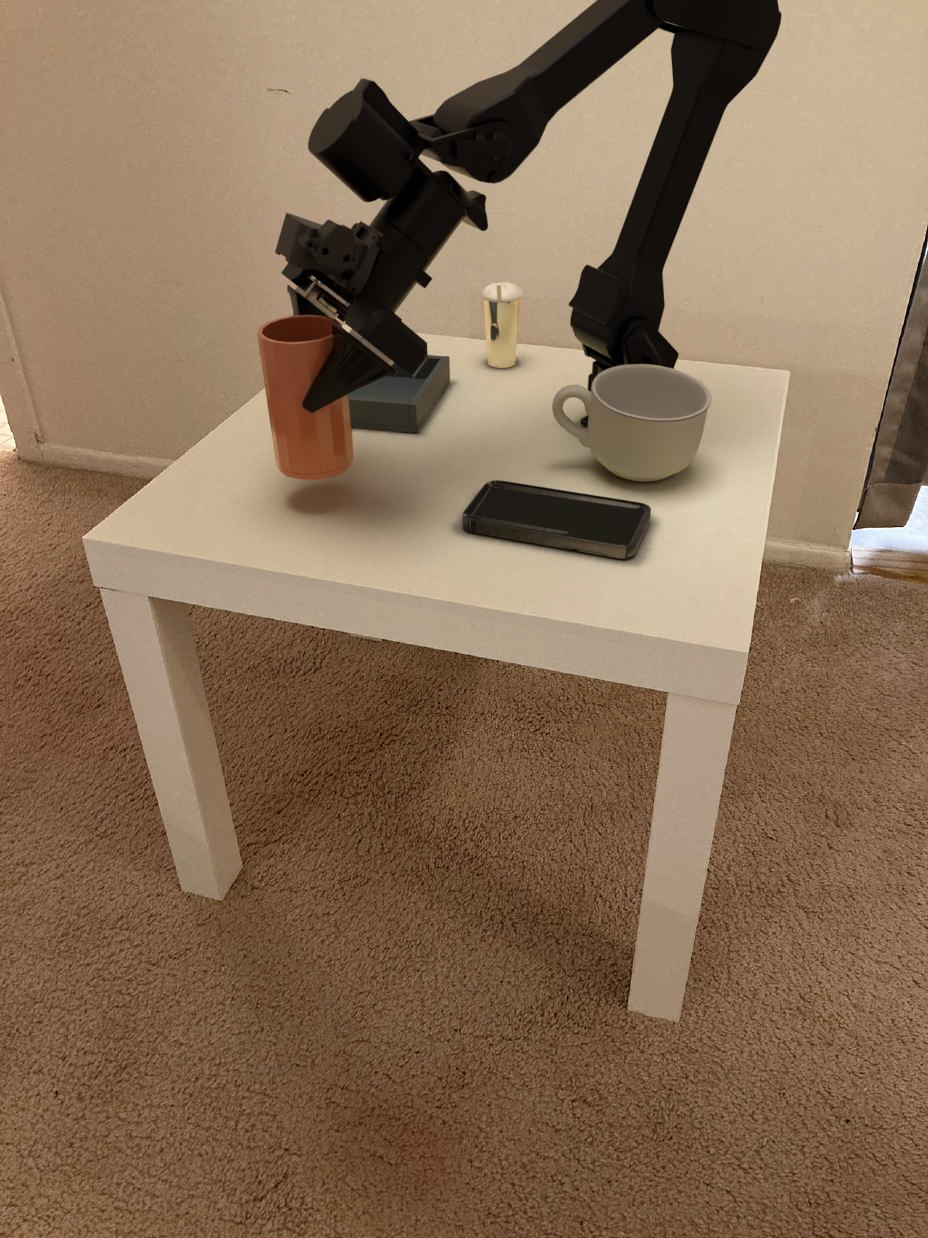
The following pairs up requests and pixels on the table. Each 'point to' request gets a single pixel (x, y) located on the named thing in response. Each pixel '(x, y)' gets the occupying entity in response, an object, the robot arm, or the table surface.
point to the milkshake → (501, 322)
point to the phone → (558, 518)
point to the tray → (400, 398)
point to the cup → (289, 371)
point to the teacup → (639, 419)
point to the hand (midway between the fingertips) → (291, 394)
